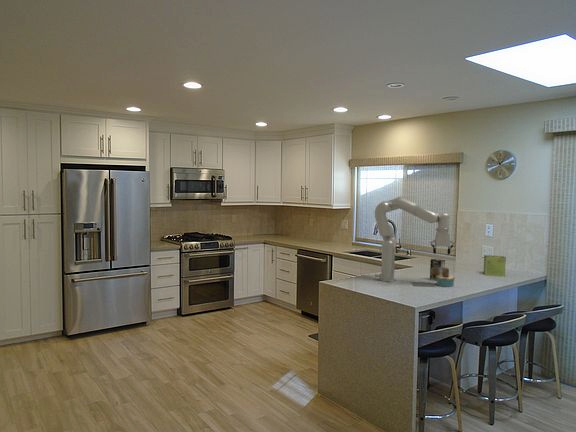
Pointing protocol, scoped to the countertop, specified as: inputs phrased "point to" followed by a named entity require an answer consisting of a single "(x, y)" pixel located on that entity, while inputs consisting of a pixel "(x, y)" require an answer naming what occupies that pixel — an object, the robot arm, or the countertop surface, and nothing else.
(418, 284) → the mat
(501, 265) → the protein box
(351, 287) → the countertop surface
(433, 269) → the coffee box
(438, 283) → the bowl
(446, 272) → the lid
